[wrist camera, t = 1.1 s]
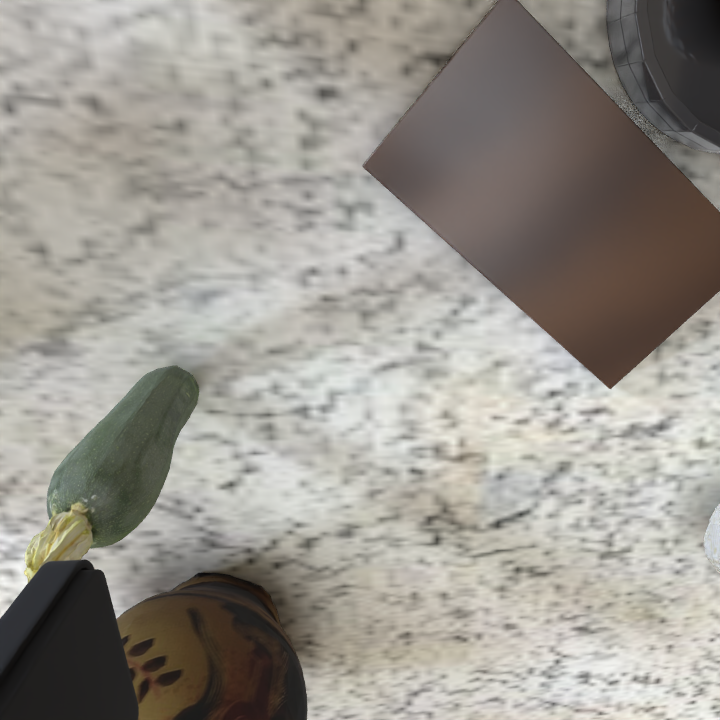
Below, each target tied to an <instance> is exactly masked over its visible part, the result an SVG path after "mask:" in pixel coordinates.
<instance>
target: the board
mask: <svg viewBox="0 0 720 720" xmlns="http://www.w3.org/2000/svg"><path fill="white" fill-rule="evenodd" d="M363 167H364V168H365V169H366V170H367V171H368V172H369V173H370V174H371V175H372V176H374V177H375V178H376V179H377V180H378V181H379V182H380V183H381V184H382V185H384V186H385V187H386V188H387V189H388V190H389V191H390V192H391V193H392V194H394V195H395V196H396V197H397V198H398V199H399V200H400V201H401V202H402V203H404V204H405V205H406V206H407V207H408V208H409V209H410V210H411V211H412V212H414V213H415V214H416V215H417V216H418V217H419V218H420V219H421V220H423V221H424V222H425V223H426V224H427V225H428V226H429V227H430V228H431V229H433V230H434V231H435V232H436V233H437V234H438V235H439V236H440V237H441V238H443V239H444V240H445V241H446V242H447V243H448V244H449V245H450V246H451V247H453V248H454V249H455V250H456V251H457V252H458V253H459V254H460V255H461V256H463V257H464V258H465V259H466V260H467V261H468V262H469V263H470V264H471V265H473V266H474V267H475V268H476V269H477V270H478V271H479V272H480V273H481V274H483V275H484V276H485V277H486V278H487V279H488V280H489V281H490V282H491V283H493V284H494V285H495V286H496V287H497V288H498V289H499V290H500V291H501V292H503V293H504V294H505V295H506V296H507V297H508V298H509V299H510V300H511V301H513V302H514V303H515V304H516V305H517V306H518V307H519V308H520V309H521V310H523V311H524V312H525V313H526V314H527V315H528V316H529V317H530V318H531V319H533V320H534V321H535V322H536V323H537V324H538V325H539V326H540V327H541V328H543V329H544V330H545V331H546V332H547V333H548V334H549V335H550V336H551V337H553V338H554V339H555V340H556V341H557V342H558V343H559V344H560V345H561V346H563V347H564V348H565V349H566V350H567V351H568V352H569V353H570V354H571V355H573V356H574V357H575V358H576V359H577V360H578V361H579V362H580V363H581V364H583V365H584V366H585V367H586V368H587V369H588V370H589V371H590V372H591V373H593V374H594V375H595V376H596V377H597V378H598V379H599V380H600V381H601V382H603V383H604V384H605V385H606V386H607V387H608V388H609V389H611V388H612V387H613V386H615V385H616V384H617V383H618V382H619V381H620V380H621V379H622V378H623V377H625V376H626V375H627V374H628V373H629V372H630V371H631V370H632V369H633V368H634V367H636V366H637V365H638V364H639V363H640V362H641V361H642V360H643V359H644V358H646V357H647V356H648V355H649V354H650V353H651V352H652V351H653V350H654V349H656V348H657V347H658V346H659V345H660V344H661V343H662V342H663V341H664V340H666V339H667V338H668V337H669V336H670V335H671V334H672V333H673V332H674V331H675V330H677V329H678V328H679V327H680V326H681V325H682V324H683V323H684V322H685V321H687V320H688V319H689V318H690V317H691V316H692V315H693V314H694V313H695V312H697V311H698V310H699V309H700V308H701V307H702V306H703V305H704V304H705V303H707V302H708V301H709V300H710V299H711V298H712V297H713V296H714V295H715V294H717V293H718V292H719V291H720V212H719V211H718V210H717V209H716V208H715V207H714V206H713V205H712V204H711V203H710V202H709V200H708V199H707V198H706V197H705V196H704V195H703V194H702V193H701V192H700V191H699V190H698V189H697V188H696V187H695V186H694V185H693V184H692V183H691V182H690V181H689V180H688V179H687V177H686V176H685V175H684V174H683V173H682V172H681V171H680V170H679V169H678V168H677V167H676V166H675V165H674V164H673V163H672V162H671V161H670V160H669V159H668V158H667V157H666V155H665V154H664V153H663V152H662V151H661V150H660V149H659V148H658V147H657V146H656V145H655V144H654V143H653V142H652V141H651V140H650V139H649V138H648V137H647V136H646V135H645V134H644V132H643V131H642V130H641V129H640V128H639V127H638V126H637V125H636V124H635V123H634V122H633V121H632V120H631V119H630V118H629V117H628V116H627V115H626V114H625V113H624V112H623V111H622V109H621V108H620V107H619V106H618V105H617V104H616V103H615V102H614V101H613V100H612V99H611V98H610V97H609V96H608V95H607V94H606V93H605V92H604V91H603V90H602V89H601V88H600V86H599V85H598V84H597V83H596V82H595V81H594V80H593V79H592V78H591V77H590V76H589V75H588V74H587V73H586V72H585V71H584V70H583V69H582V68H581V67H580V66H579V65H578V63H577V62H576V61H575V60H574V59H573V58H572V57H571V56H570V55H569V54H568V53H567V52H566V51H565V50H564V49H563V48H562V47H561V46H560V45H559V44H558V43H557V42H556V40H555V39H554V38H553V37H552V36H551V35H550V34H549V33H548V32H547V31H546V30H545V29H544V28H543V27H542V26H541V25H540V24H539V23H538V22H537V21H536V20H535V18H534V17H533V16H532V15H531V14H530V13H529V12H528V11H527V10H526V9H525V8H524V7H523V6H522V5H521V4H520V3H519V2H518V1H517V0H498V2H497V3H496V4H495V5H494V6H493V8H492V9H491V10H490V11H489V13H488V14H487V15H486V16H485V17H484V19H483V20H482V21H481V22H480V23H479V25H478V26H477V27H476V28H475V29H474V31H473V32H472V33H471V34H470V36H469V37H468V38H467V39H466V40H465V42H464V43H463V44H462V45H461V46H460V48H459V49H458V50H457V51H456V53H455V54H454V55H453V56H452V57H451V59H450V60H449V61H448V62H447V63H446V65H445V66H444V67H443V68H442V70H441V71H440V72H439V73H438V74H437V76H436V77H435V78H434V79H433V80H432V82H431V83H430V84H429V85H428V87H427V88H426V89H425V90H424V91H423V93H422V94H421V95H420V96H419V97H418V99H417V100H416V101H415V102H414V104H413V105H412V106H411V107H410V108H409V110H408V111H407V112H406V113H405V114H404V116H403V117H402V118H401V119H400V120H399V122H398V123H397V124H396V125H395V127H394V128H393V129H392V130H391V131H390V133H389V134H388V135H387V136H386V137H385V139H384V140H383V141H382V142H381V144H380V145H379V146H378V147H377V148H376V150H375V151H374V152H373V153H372V154H371V156H370V157H369V158H368V159H367V161H366V162H365V163H364V164H363Z"/></svg>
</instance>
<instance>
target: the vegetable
mask: <svg viewBox="0 0 720 720" xmlns="http://www.w3.org/2000/svg"><path fill="white" fill-rule="evenodd" d="M198 395H199V386H198V384H197V383H196V381H195V379H194V377H193V375H192V374H190V373H189V372H187V371H185V370H183V369H182V368H180V367H178V366H170V367H165V368H160V369H156V370H154V371H152V372H149V373H147V374H146V375H144V376H143V377H142V378H141V379H140V380H139V381H138V382H137V383H136V384H135V385H134V387H133V388H132V389H131V390H130V391H129V392H128V393H127V395H126V396H125V397H124V398H123V399H122V400H121V401H120V402H119V403H118V404H117V405H116V406H115V407H114V408H113V409H112V410H111V412H110V413H109V414H108V415H107V416H106V417H105V418H104V419H103V420H101V421H100V422H99V423H98V424H97V425H96V426H95V427H94V428H93V429H92V430H91V431H90V432H89V433H88V434H87V435H86V436H85V437H84V439H83V440H82V441H81V442H80V443H79V444H78V445H77V446H76V447H75V448H74V449H73V450H72V451H71V452H70V453H69V454H68V455H67V457H66V458H65V459H64V460H63V462H62V463H61V464H60V465H59V467H58V468H57V469H56V471H55V472H54V475H53V477H52V479H51V482H50V486H49V489H48V494H47V512H48V516H49V519H50V521H49V523H48V526H47V527H46V529H45V530H43V531H42V532H40V533H39V534H37V535H36V536H34V538H33V539H32V540H31V542H30V544H29V546H28V548H27V550H26V553H25V562H26V565H27V568H26V570H25V571H24V574H25V575H26V576H27V578H28V583H29V581H30V580H31V579H32V578H33V576H34V575H35V574H36V572H37V571H38V570H39V569H40V567H41V566H43V565H44V564H45V563H47V562H49V561H67V560H81V558H82V556H83V555H84V554H86V553H87V552H88V550H89V548H99V547H104V546H108V545H112V544H114V543H116V542H118V541H120V540H122V539H123V538H124V537H125V536H127V535H128V534H129V533H130V532H131V531H133V530H134V529H135V528H136V527H137V526H138V525H139V524H140V523H141V522H142V521H143V520H144V519H145V517H146V516H147V515H148V514H149V512H150V511H151V509H152V507H153V506H154V504H155V502H156V500H157V498H158V496H159V494H160V492H161V489H162V487H163V485H164V482H165V480H166V477H167V474H168V472H169V469H170V463H171V459H172V453H173V448H174V445H175V442H176V440H177V437H178V435H179V433H180V431H181V429H182V428H183V426H184V425H185V423H186V422H187V420H188V419H189V417H190V415H191V413H192V411H193V410H194V408H195V406H196V405H197V401H198Z"/></svg>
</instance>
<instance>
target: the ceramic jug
mask: <svg viewBox="0 0 720 720" xmlns="http://www.w3.org/2000/svg"><path fill="white" fill-rule="evenodd" d="M116 620H117V624H118V628H119V632H120V636H121V639H122V643H123V647H124V651H125V655H126V659H127V662H128V666H129V670H130V674H131V678H132V682H133V686H134V689H135V693H136V697H137V701H138V706H139V716H138V720H307V694H306V687H305V681H304V677H303V671H302V668H301V665H300V662H299V659H298V657H297V655H296V652H295V650H294V648H293V646H292V643H291V641H290V639H289V638H288V636H287V635H286V633H285V632H284V630H283V629H282V628H281V625H280V621H279V617H278V613H277V609H276V608H275V606H274V604H273V602H272V600H271V596H270V595H269V594H268V593H267V592H266V591H265V590H264V589H263V587H262V586H258V585H255V584H252V583H250V582H247V581H244V580H240V579H237V578H235V577H232V576H230V575H224V574H215V573H198V574H196V575H195V576H194V577H192V578H191V579H190V580H189V581H187V582H183V583H181V584H180V585H178V586H177V587H176V588H174V589H173V590H172V591H170V592H165V593H161V594H158V595H155V596H152V597H150V598H147V599H145V600H144V601H142V602H140V603H138V604H136V605H135V606H133V607H132V608H130V609H129V610H127V611H126V612H124V613H123V614H122V615H121V616H119V617H118V618H117V619H116Z"/></svg>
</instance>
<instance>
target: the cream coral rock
mask: <svg viewBox="0 0 720 720" xmlns="http://www.w3.org/2000/svg"><path fill="white" fill-rule="evenodd" d="M704 548H705V553H706V557H707V558H708V559H709V561H710V562H711V563H712V564H713V566H714V567H715V569H716V570H717V571H718V573H719V574H720V503H719V505H718V506H717V507H716V509H715V510H714V512H713V514H712V516H711V518H710V521H709V525H708V528H707V530H706V533H705V535H704Z"/></svg>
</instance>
